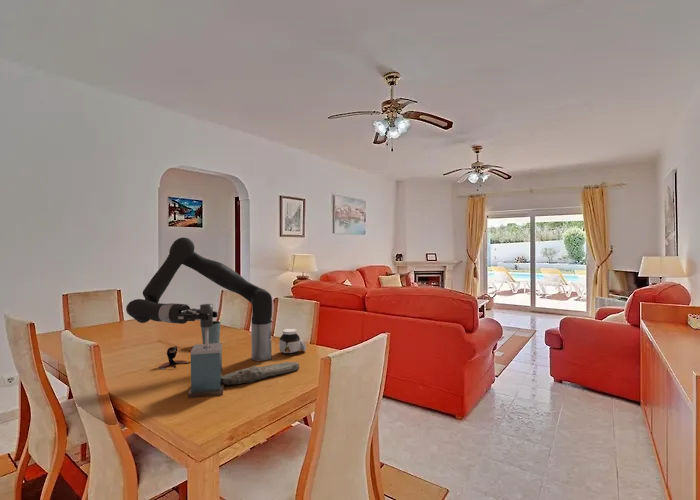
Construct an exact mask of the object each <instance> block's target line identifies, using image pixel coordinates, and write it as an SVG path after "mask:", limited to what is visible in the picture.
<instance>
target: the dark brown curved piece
mask: <svg viewBox="0 0 700 500" xmlns="http://www.w3.org/2000/svg"><path fill="white" fill-rule="evenodd" d="M177 352H178V346H177V345H174V346H170V347H169V348H168V349H167V350H166V356H167V359H168V362H164V363H163V364H162V365H159V366H158V367H157V368H158V369H160V370H163V371H164V370H167V368H168V370H169V371H170V370H171V369H170V368H173V369H176V368H177V365H176V364H189V363H190V360H189V361H187V360H183V359H182V360H181V359H180V360H174V359H175V358H176V356H177Z"/></svg>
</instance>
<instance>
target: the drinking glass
mask: <svg viewBox="0 0 700 500" xmlns="http://www.w3.org/2000/svg"><path fill="white" fill-rule="evenodd" d="M200 328H201V329H200V331H201V339H202V344H205V327H200ZM220 336H221V321H218V320H213V326H211V327H208V344H212V343H221V342H220V341H221V340H220V339H221V337H220Z"/></svg>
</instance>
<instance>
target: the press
mask: <svg viewBox="0 0 700 500" xmlns="http://www.w3.org/2000/svg"><path fill="white" fill-rule="evenodd" d="M222 345H223V344H222V342H220V343H212V344H208V346H209V348H205V344H203V343H201V344H200V343H197V344H194V345H193V347H192V348H191V351H190V386H189V389H188V393H187V398H188V399H191V398H192V399H194V398H203V397H204V398H206V397H215V396H223V395H224V388H225V385H226V384H224V383H222V382H221V381H222V380H221V379H222V376H223V357H222V356H223V351H222V350H223V347H222Z"/></svg>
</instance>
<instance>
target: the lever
mask: <svg viewBox="0 0 700 500" xmlns="http://www.w3.org/2000/svg"><path fill="white" fill-rule="evenodd" d="M213 305H214V304H212V303H203V304H200V305H199V309H200V314H201V313H202V314H209V320H199V322H200V326H199V327H200V328H201V327H205V348H209V346H208V327H211V326H213V321H214V317H213V311H214V309H213V307H214V306H213Z"/></svg>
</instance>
